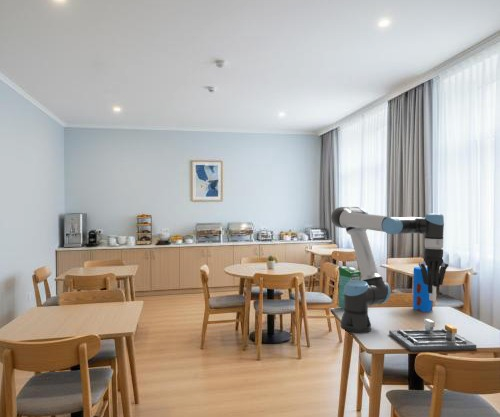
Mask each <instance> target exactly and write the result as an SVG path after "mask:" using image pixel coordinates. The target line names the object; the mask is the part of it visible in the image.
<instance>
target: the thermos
mask: <svg viewBox="0 0 500 417" xmlns="http://www.w3.org/2000/svg"><path fill="white" fill-rule="evenodd" d="M426 270H427V266H426ZM427 275H428V270H427ZM412 277H413V279H412V281H413V282H412V283H413V284H412V285H413V288H412V308H414V309H413V310H414V311H418V312H422V313H423V312H424V313H430V312H433V308H434V307H433V306H434V301H431V300H429V293H428V285H426V284H424V282H423V277H422V272H421V268H420V266H414V267H413V276H412Z"/></svg>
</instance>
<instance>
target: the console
mask: <svg viewBox="0 0 500 417" xmlns="http://www.w3.org/2000/svg"><path fill="white" fill-rule="evenodd" d="M388 334H389V336H390V337H391V338H393V339H394V340H396V341H397V342H398V343H400V344H401V345H403V347H405V348H406V349H408V350H409V351H410V352H423V351H425V352H427V351H428V352H429V351H430V352H431V351H468V350H469V351H471V350H472V351H473V350H477V344H476V343H473V342H472V341H469V340H468V339H466V338H464V337H463V336H461V335H459V334H458V333H455V341H449V340H448V339H446V330H445V328H442V329H433V334H428V333H426V332H425V329H400V328H399V329H398V330H397V329H395V330H393V329H392V330H391V329H390V330H388Z"/></svg>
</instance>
